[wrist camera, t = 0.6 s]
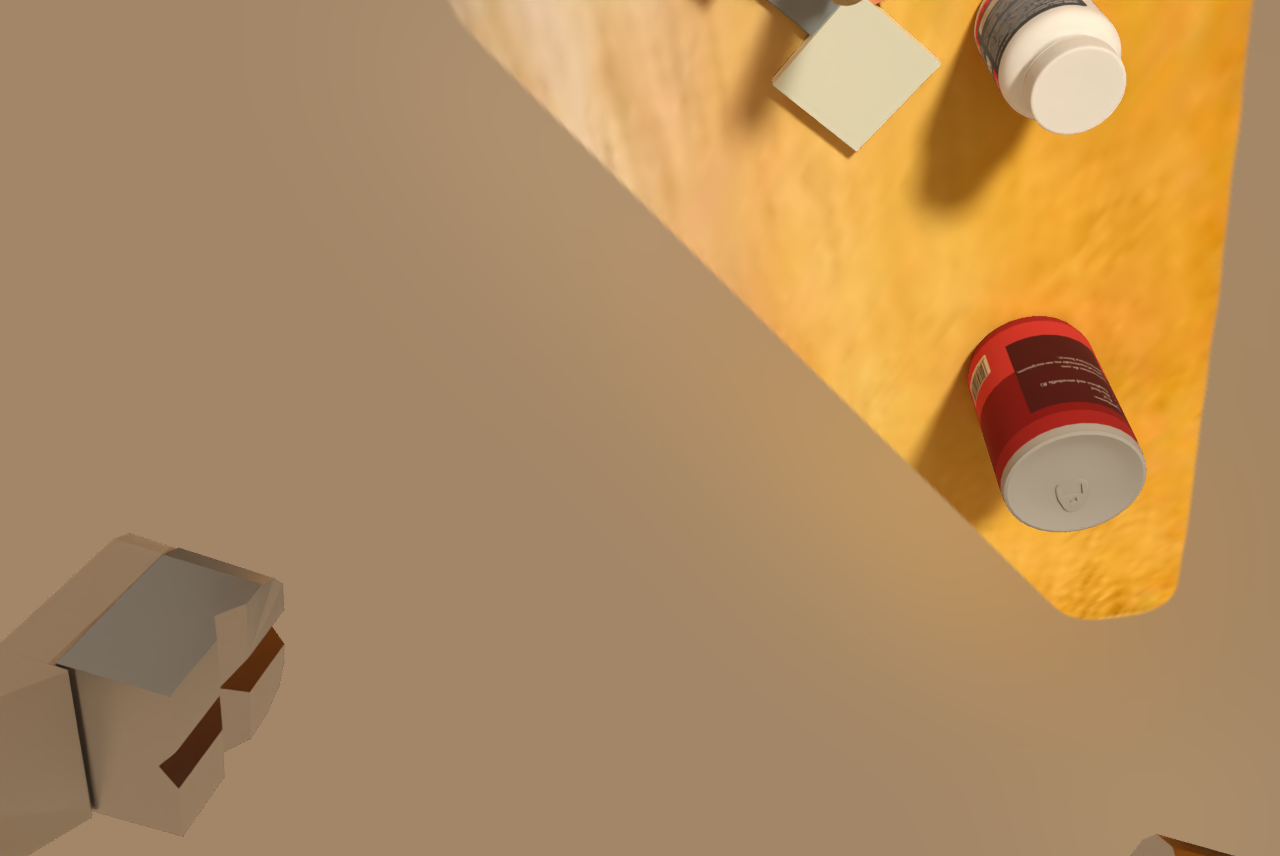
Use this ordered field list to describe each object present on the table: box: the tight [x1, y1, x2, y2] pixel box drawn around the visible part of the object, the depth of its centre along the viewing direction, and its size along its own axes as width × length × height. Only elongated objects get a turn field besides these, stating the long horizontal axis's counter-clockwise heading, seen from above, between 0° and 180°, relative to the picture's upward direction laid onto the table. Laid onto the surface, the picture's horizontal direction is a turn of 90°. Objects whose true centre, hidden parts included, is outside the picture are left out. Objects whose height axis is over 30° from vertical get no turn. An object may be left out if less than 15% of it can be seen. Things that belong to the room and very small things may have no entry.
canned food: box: [968, 316, 1147, 532], centre depth 60 cm, size 8×8×11 cm
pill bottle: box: [974, 0, 1126, 135], centre depth 47 cm, size 5×5×9 cm
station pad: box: [772, 0, 941, 152], centre depth 52 cm, size 6×6×1 cm
